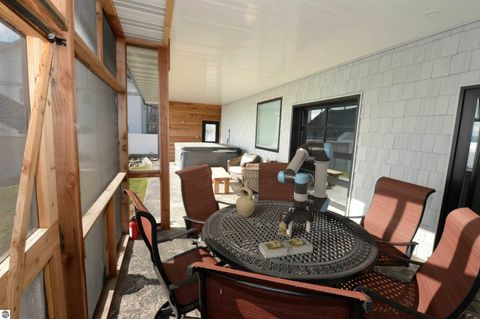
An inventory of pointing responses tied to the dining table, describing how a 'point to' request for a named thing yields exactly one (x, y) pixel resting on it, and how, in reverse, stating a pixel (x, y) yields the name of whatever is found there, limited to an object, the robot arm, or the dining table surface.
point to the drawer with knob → (274, 244)
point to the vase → (245, 201)
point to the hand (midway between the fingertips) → (298, 232)
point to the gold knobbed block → (296, 242)
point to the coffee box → (283, 225)
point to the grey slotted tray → (285, 248)
